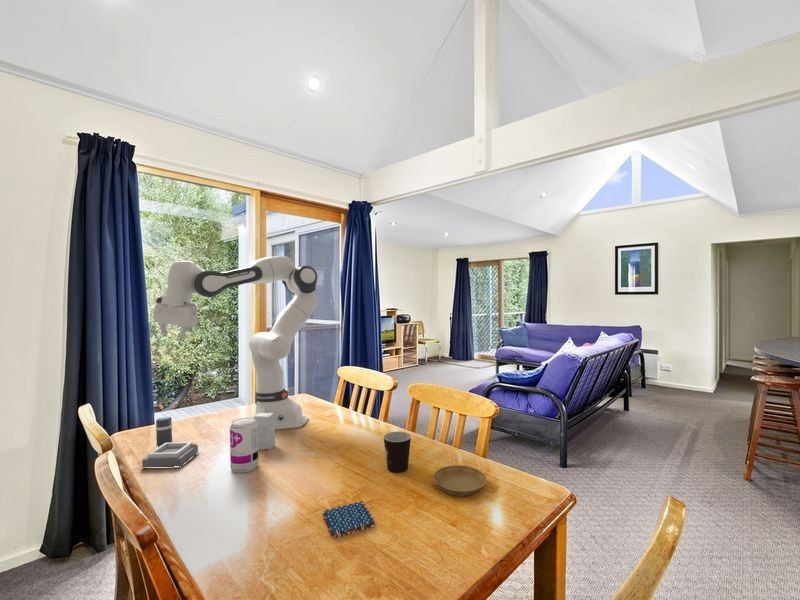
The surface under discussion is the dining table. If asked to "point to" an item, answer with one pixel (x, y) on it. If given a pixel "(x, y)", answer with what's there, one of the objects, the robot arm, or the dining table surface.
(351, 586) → the dining table surface
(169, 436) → the lens
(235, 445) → the supplement can
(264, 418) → the skincare box
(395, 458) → the coffee mug
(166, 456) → the dock
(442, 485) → the plant saucer
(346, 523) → the woven mat
